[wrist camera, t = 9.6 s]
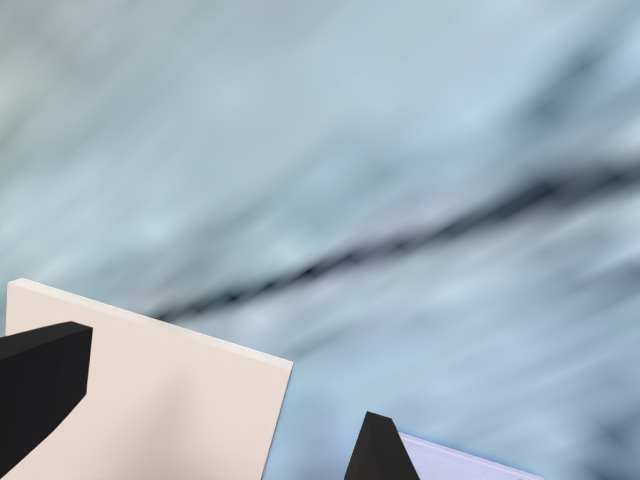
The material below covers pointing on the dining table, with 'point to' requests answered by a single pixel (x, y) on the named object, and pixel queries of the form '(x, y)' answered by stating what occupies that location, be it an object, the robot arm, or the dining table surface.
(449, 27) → the dining table surface
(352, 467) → the robot arm
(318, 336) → the dining table surface
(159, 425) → the board
